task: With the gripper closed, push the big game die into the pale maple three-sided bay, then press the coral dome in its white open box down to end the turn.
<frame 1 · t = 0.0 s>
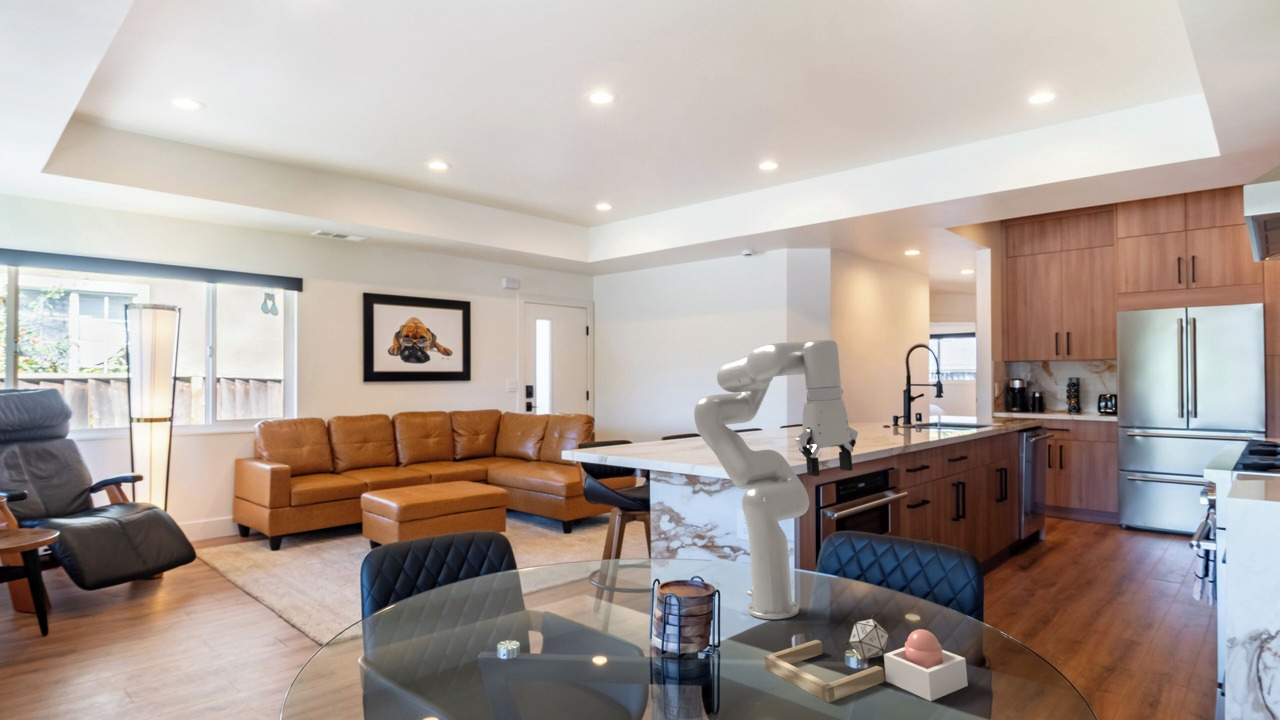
hand: (830, 472, 150), 37 cm above the table, tool pointing down, fingers open, 9 cm apart
white open box: (926, 683, 126), on the table
game die: (870, 659, 139), on the table
dome: (923, 645, 126), point 7 cm above the table, slide at 0.0 cm
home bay: (822, 674, 133), on the table
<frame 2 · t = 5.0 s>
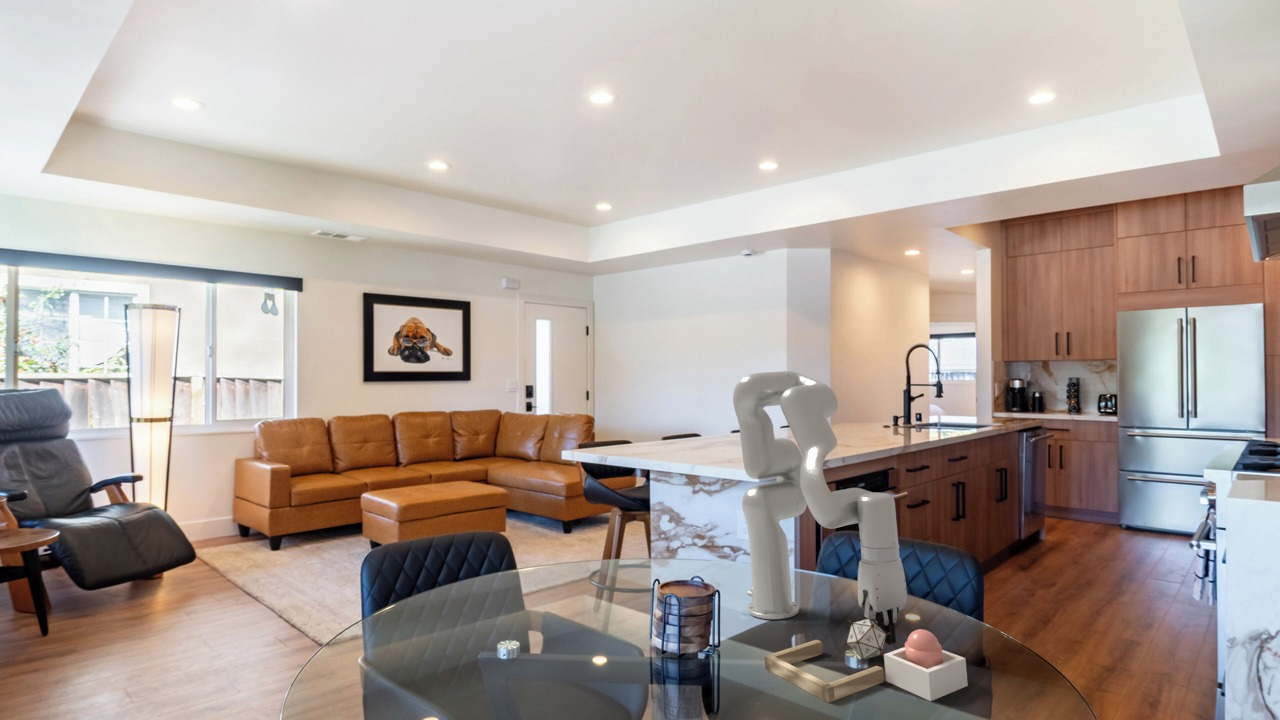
hand: (887, 641, 141), 2 cm above the table, tool pointing down, fingers closed
game die: (869, 659, 139), on the table, touching gripper
everything else where it was.
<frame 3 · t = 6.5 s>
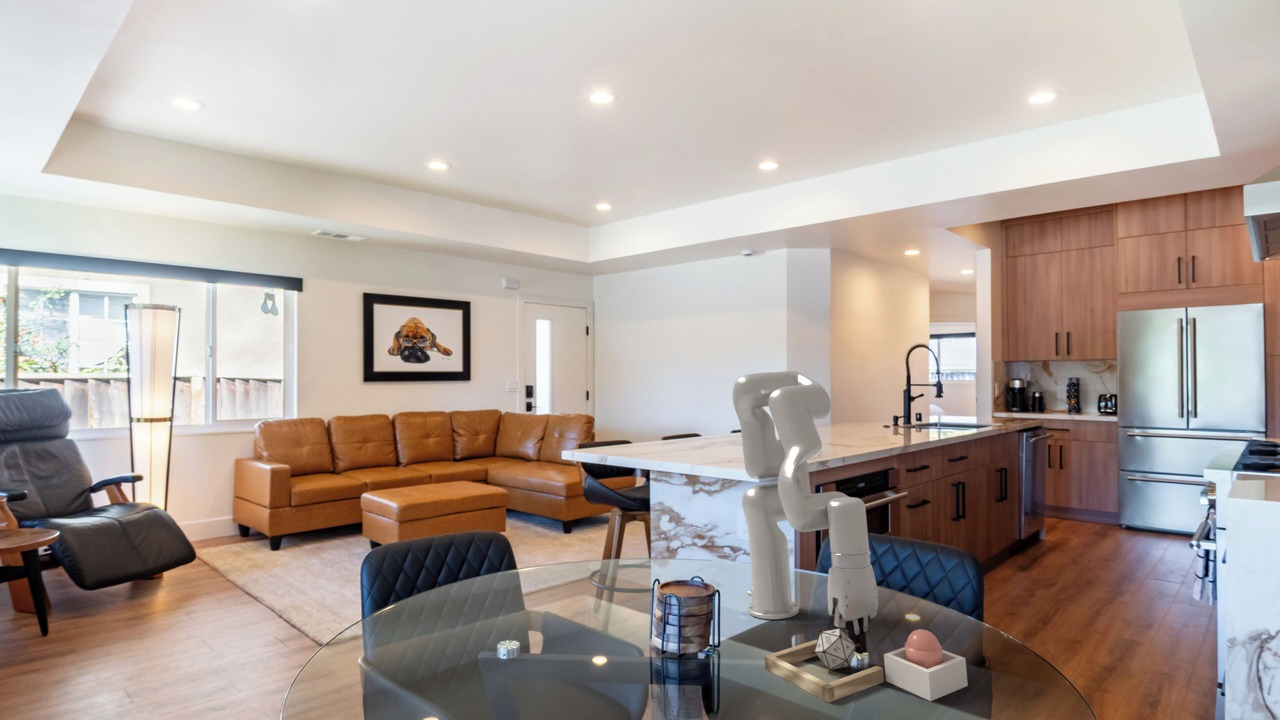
hand: (858, 651, 137), 2 cm above the table, tool pointing down, fingers closed
game die: (837, 670, 135), on the table, touching gripper
everything else where it was.
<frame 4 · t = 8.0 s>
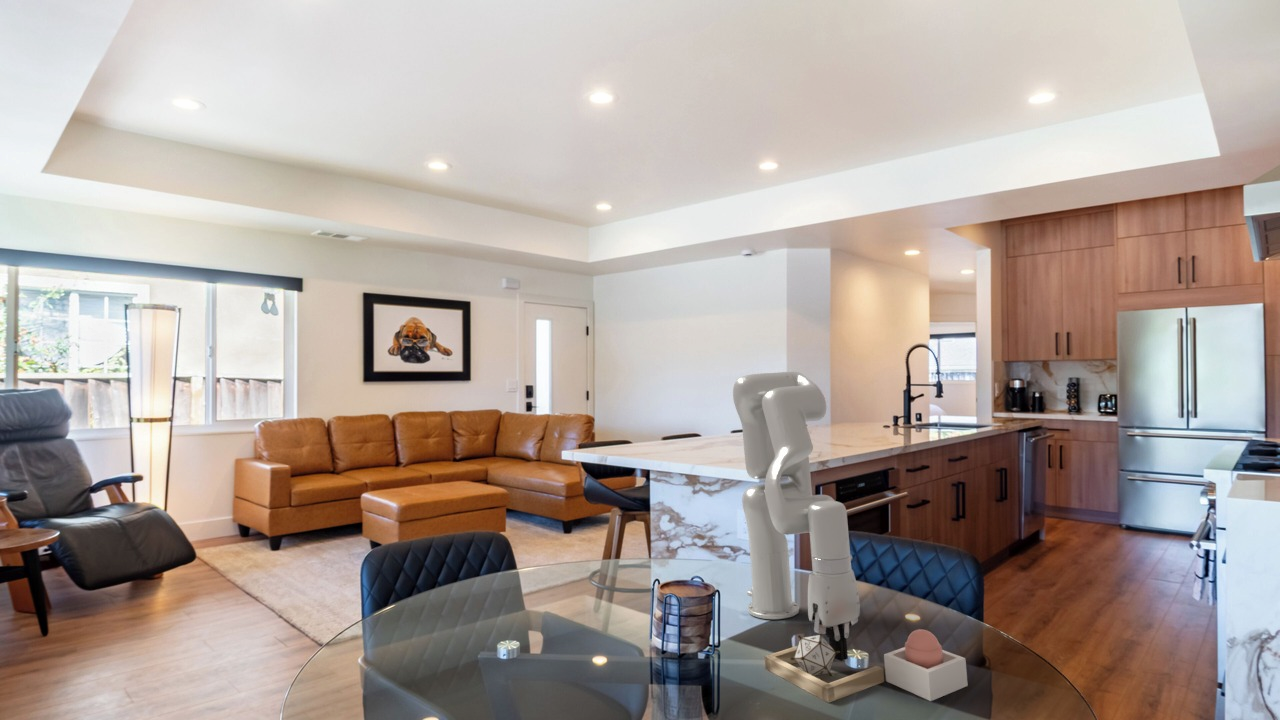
hand: (839, 657, 134), 2 cm above the table, tool pointing down, fingers closed
game die: (816, 677, 132), on the table, touching gripper
everything else where it was.
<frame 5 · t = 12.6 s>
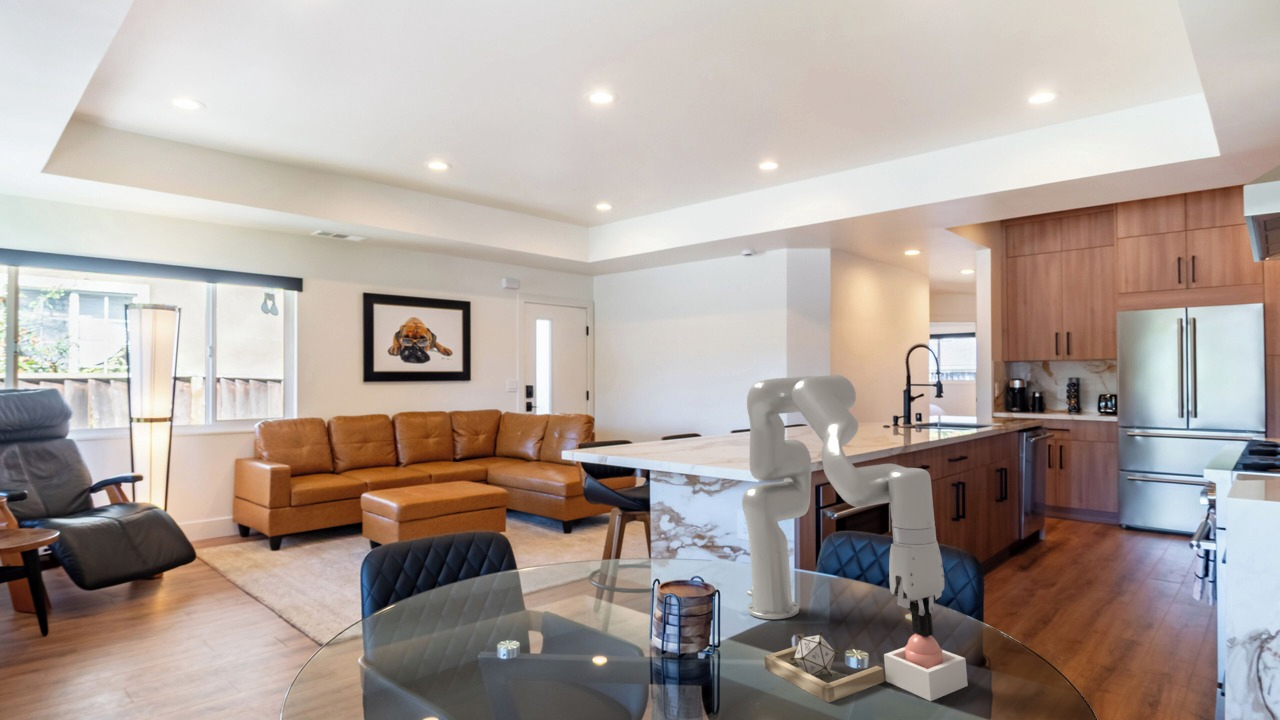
hand: (923, 633, 126), 9 cm above the table, tool pointing down, fingers closed
game die: (816, 677, 132), on the table
dome: (923, 649, 126), point 6 cm above the table, slide at 0.6 cm, touching gripper
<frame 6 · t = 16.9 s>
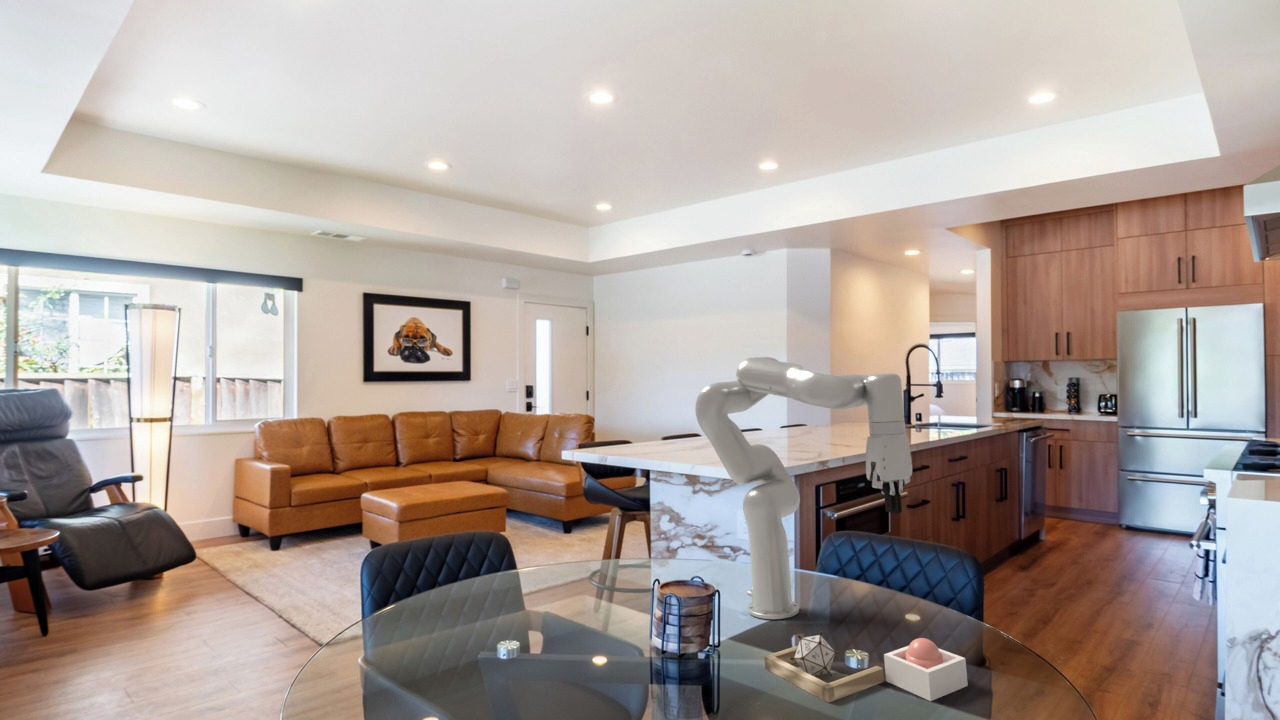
hand: (893, 511, 150), 27 cm above the table, tool pointing down, fingers closed
dome: (923, 654, 126), point 5 cm above the table, slide at 1.6 cm
everything else where it was.
at the end: game die inside the target area (1.9 cm from its centre), on the table; dome slide at 1.6 cm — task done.
